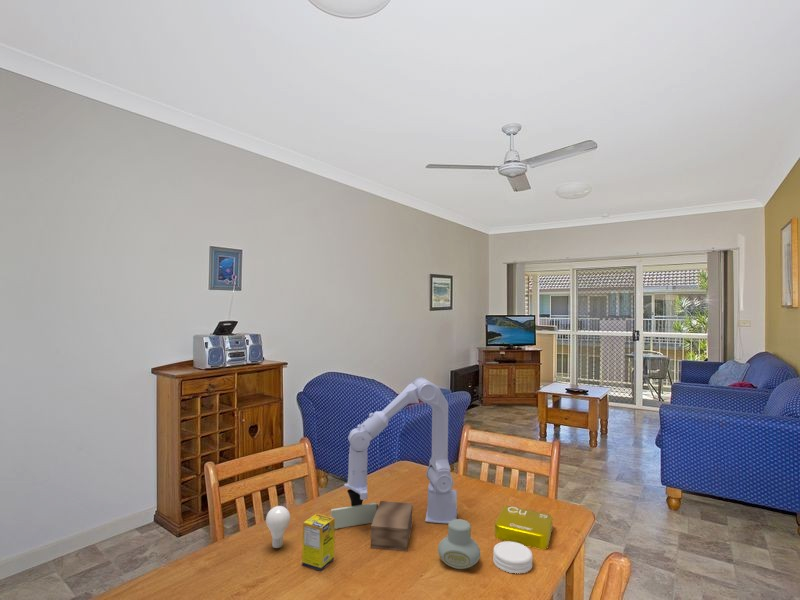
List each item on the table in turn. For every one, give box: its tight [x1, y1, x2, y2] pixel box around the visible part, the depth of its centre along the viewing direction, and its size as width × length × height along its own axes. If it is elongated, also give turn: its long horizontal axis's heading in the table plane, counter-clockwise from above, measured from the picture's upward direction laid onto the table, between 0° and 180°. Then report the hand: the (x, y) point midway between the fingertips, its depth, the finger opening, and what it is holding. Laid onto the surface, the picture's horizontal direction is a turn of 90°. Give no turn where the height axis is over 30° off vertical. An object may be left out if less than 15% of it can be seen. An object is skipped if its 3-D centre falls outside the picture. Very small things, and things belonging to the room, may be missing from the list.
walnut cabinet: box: [370, 500, 413, 552], centre depth 130 cm, size 10×16×6 cm, turn 173°
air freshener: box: [437, 518, 481, 570], centre depth 117 cm, size 11×8×10 cm
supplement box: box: [301, 513, 336, 572], centre depth 115 cm, size 6×6×11 cm
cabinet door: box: [330, 502, 379, 530], centre depth 135 cm, size 2×15×6 cm, turn 113°
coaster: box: [492, 541, 533, 575], centre depth 117 cm, size 10×10×4 cm
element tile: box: [494, 505, 554, 550], centre depth 133 cm, size 15×15×5 cm
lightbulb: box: [265, 505, 291, 549], centre depth 122 cm, size 6×6×11 cm
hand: (356, 513), depth 136 cm, fingers closed, pressing on cabinet door
